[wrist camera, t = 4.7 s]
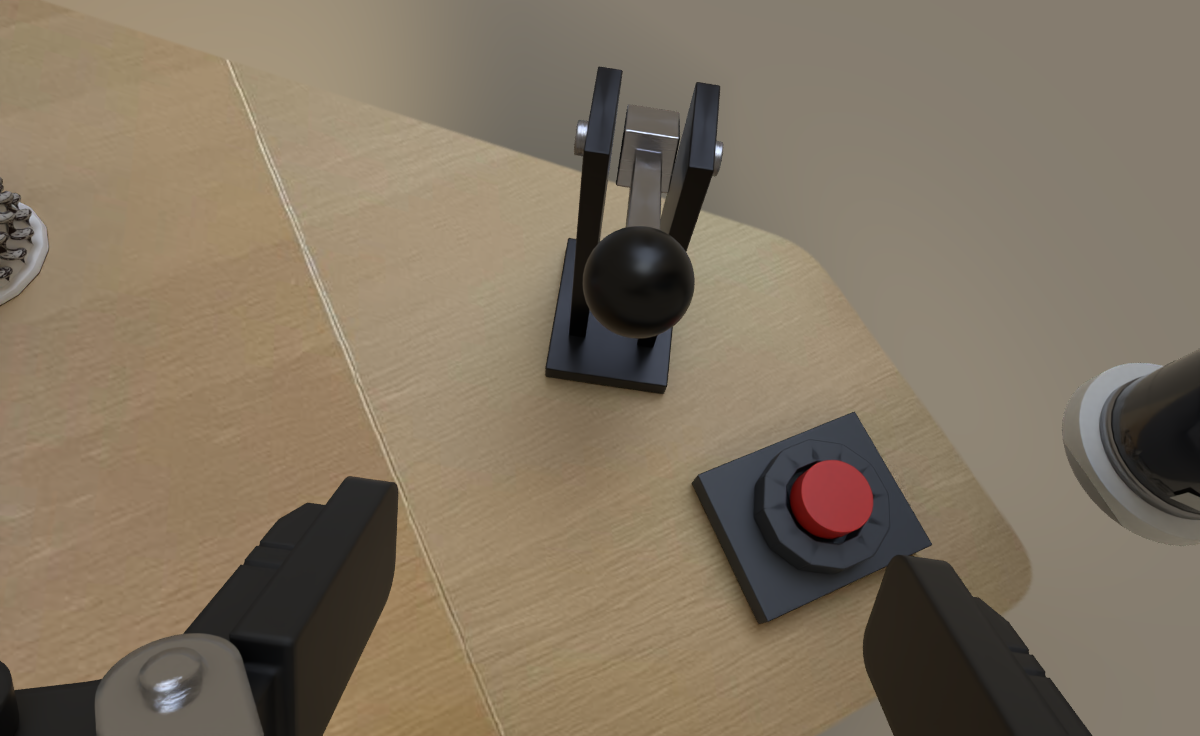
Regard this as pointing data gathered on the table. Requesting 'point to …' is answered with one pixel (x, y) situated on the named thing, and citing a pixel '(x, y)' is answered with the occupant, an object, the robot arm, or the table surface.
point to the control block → (779, 543)
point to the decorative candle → (19, 244)
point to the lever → (641, 237)
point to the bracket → (576, 333)
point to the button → (831, 499)
